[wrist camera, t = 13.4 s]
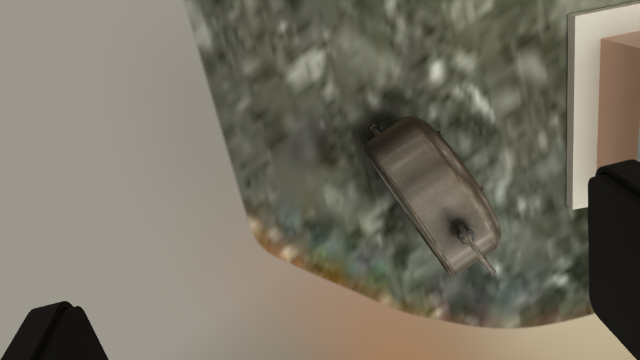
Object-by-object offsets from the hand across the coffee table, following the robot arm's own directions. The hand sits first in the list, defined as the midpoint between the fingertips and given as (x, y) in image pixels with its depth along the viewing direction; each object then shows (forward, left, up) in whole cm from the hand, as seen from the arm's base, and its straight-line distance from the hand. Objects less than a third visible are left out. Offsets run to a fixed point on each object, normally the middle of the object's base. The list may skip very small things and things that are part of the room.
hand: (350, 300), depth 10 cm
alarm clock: (+11, +8, -32) cm, 35 cm away
